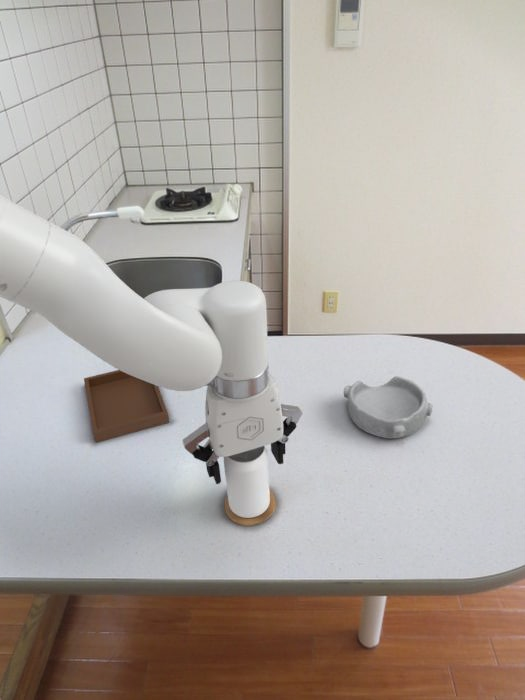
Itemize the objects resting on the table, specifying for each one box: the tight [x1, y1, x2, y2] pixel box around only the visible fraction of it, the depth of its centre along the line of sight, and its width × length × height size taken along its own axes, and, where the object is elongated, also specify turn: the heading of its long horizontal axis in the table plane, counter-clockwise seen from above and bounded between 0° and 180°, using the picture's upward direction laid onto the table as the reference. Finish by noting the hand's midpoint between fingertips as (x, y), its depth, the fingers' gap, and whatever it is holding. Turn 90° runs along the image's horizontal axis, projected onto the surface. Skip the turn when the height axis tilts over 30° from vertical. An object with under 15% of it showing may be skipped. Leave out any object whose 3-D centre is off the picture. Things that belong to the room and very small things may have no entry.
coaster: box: [224, 488, 277, 527], centre depth 82 cm, size 8×8×1 cm
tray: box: [83, 369, 170, 444], centre depth 103 cm, size 18×14×2 cm
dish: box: [343, 375, 433, 439], centre depth 96 cm, size 14×14×5 cm
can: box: [223, 446, 270, 518], centre depth 79 cm, size 6×6×12 cm
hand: (247, 467), depth 77 cm, fingers open, 9 cm apart
